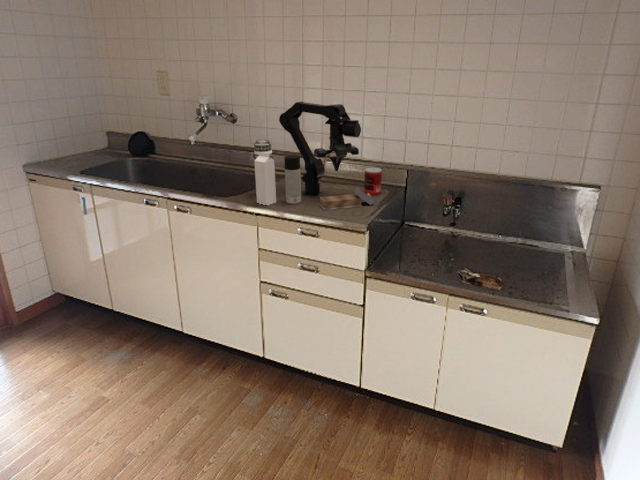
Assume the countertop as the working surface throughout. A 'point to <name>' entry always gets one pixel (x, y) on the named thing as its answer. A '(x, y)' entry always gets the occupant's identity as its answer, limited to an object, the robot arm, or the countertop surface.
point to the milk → (265, 179)
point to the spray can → (292, 179)
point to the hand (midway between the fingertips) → (336, 171)
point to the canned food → (372, 181)
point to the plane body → (340, 201)
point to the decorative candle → (262, 148)
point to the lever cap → (364, 196)
